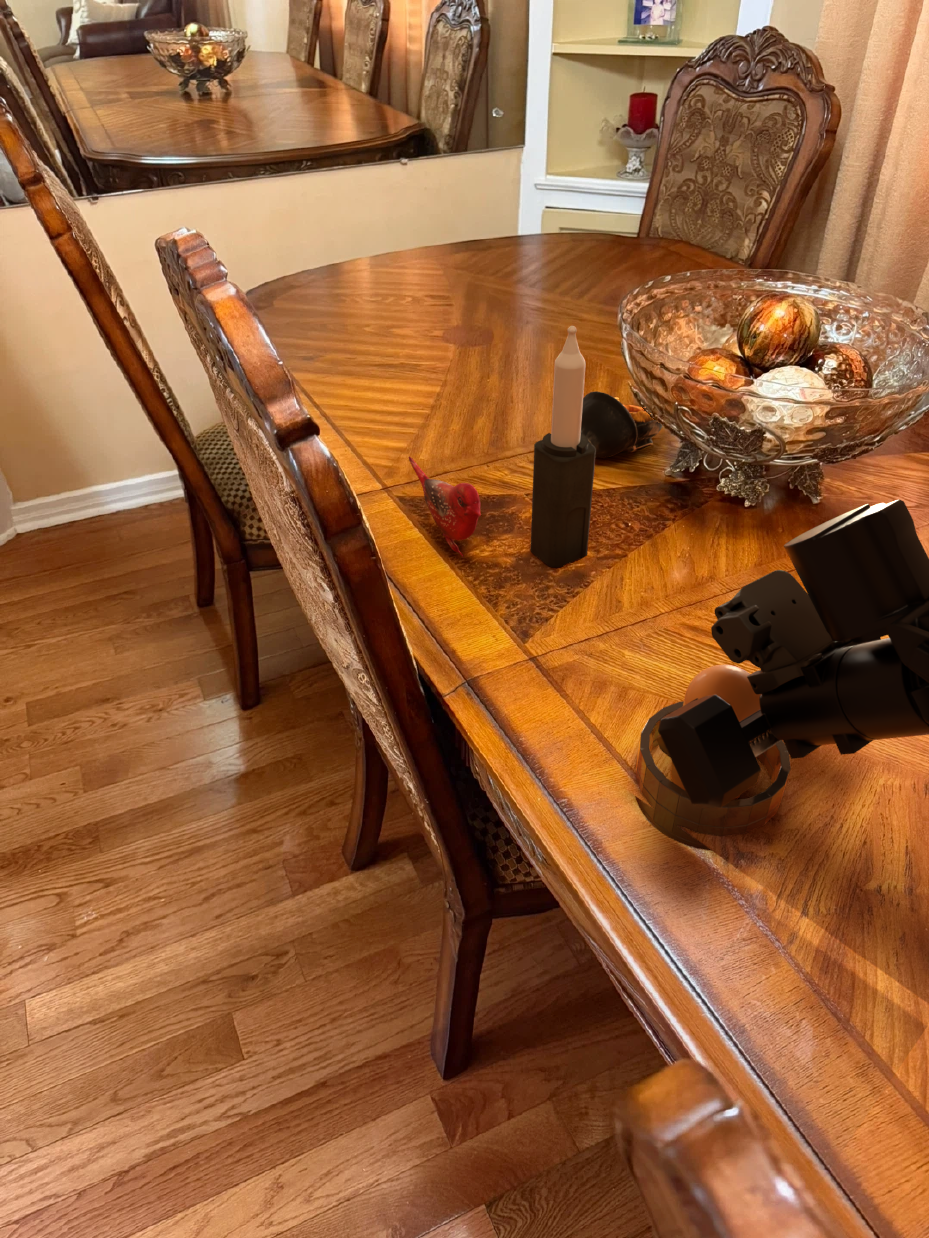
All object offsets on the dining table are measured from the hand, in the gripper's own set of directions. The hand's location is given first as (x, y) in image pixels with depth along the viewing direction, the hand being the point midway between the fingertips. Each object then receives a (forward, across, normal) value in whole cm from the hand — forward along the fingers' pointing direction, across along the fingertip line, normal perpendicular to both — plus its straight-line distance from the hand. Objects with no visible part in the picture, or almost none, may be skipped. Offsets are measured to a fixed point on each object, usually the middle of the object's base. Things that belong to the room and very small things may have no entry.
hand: (704, 717), depth 67 cm
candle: (+28, -12, -17) cm, 35 cm away
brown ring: (+4, 0, +6) cm, 7 cm away
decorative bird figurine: (+34, -4, -24) cm, 42 cm away
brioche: (+4, 0, +6) cm, 7 cm away
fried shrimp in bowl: (+37, -36, -27) cm, 58 cm away
